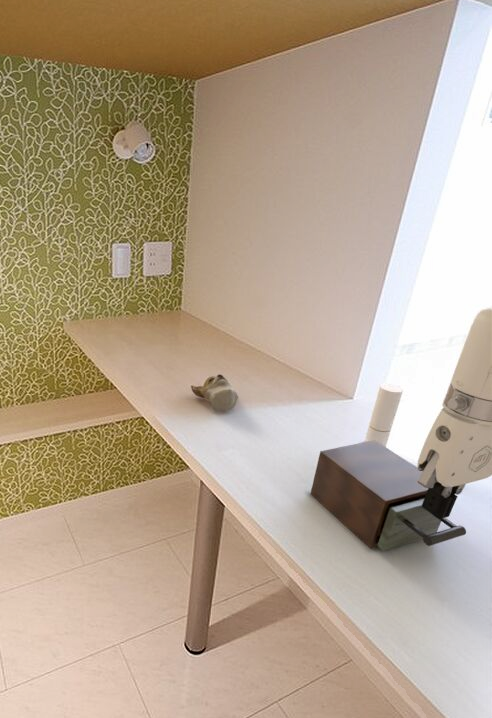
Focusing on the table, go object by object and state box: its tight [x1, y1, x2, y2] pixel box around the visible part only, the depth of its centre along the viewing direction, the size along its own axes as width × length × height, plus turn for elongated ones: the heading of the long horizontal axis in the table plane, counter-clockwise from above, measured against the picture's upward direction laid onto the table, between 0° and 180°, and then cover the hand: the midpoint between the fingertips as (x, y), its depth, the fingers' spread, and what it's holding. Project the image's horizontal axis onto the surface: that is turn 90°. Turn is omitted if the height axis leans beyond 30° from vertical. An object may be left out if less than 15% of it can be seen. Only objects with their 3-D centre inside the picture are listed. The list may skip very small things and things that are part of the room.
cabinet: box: [310, 440, 428, 549], centre depth 76 cm, size 15×13×10 cm
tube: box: [364, 383, 404, 448], centre depth 94 cm, size 4×4×15 cm
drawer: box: [377, 494, 467, 552], centre depth 72 cm, size 18×11×8 cm, turn 20°
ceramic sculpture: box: [190, 374, 239, 413], centre depth 115 cm, size 11×9×15 cm
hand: (434, 511), depth 65 cm, fingers closed
